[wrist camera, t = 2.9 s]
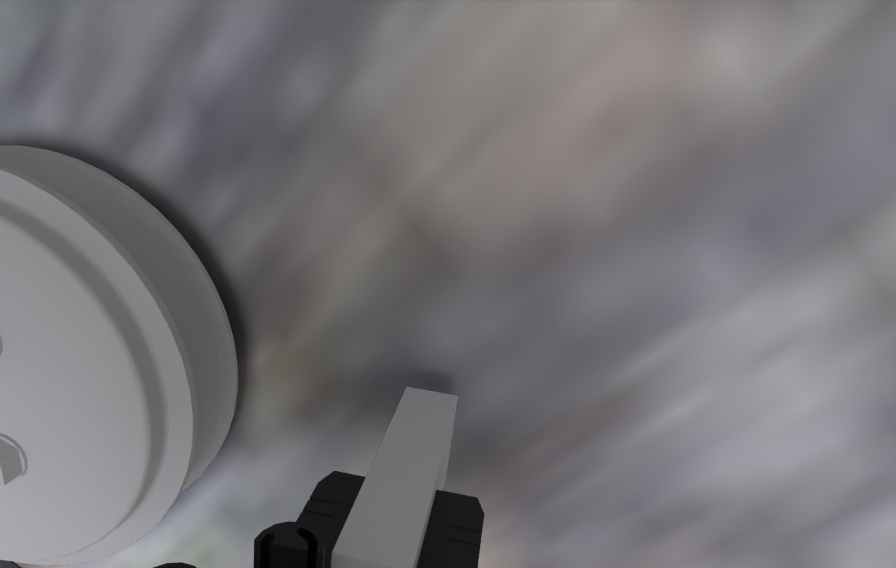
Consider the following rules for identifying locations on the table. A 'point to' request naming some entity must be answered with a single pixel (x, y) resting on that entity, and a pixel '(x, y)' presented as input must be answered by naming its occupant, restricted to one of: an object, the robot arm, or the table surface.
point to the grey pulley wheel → (100, 362)
